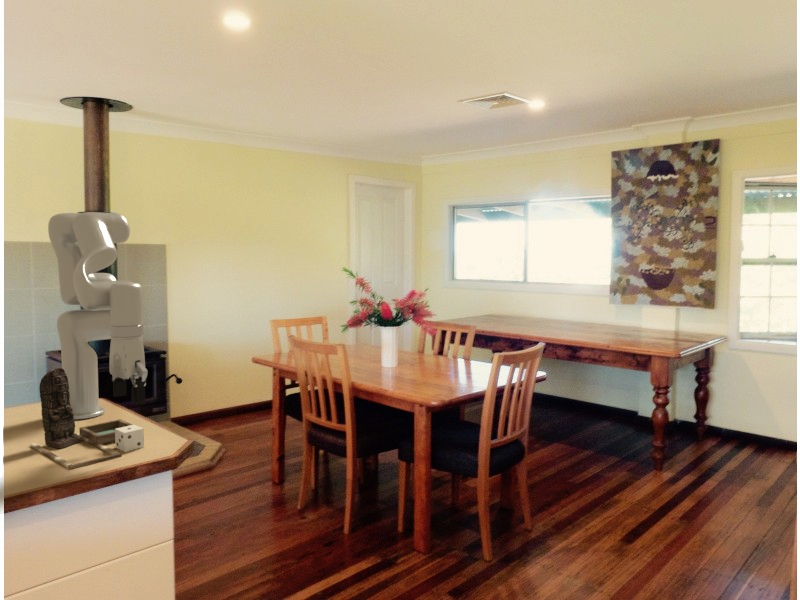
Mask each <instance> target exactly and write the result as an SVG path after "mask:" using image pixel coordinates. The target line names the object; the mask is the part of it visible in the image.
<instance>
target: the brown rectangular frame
mask: <svg viewBox="0 0 800 600" xmlns="http://www.w3.org/2000/svg"><path fill="white" fill-rule="evenodd" d="M76 434H77V435H79V436H81V435H80V432H78V433H76ZM81 437H82V440H81V441H84V442H86V443H88V444H90V445H92V446H94V447H96V448H98V449H100V450H102V451H104V452H107V453H108V454H110V455H106V456H101V457H98V458H95V459H91V460H86V461H83V462H78V463H74V464H73V463H72V462H69V461H67V460H66V459H64V458H62V457H60V456H59V455H57V454H56V453H53V452H51V451H50V450H49V449H47V448H45V447H43V446H41V445H39V444H38V443H36V442H31V443H29V444H30V447H32V448H33V449H35V450H37V451H38V452H40V453H41V454H44V455H45V456H47V457H49V458H50V459H52V460H54V461H55V462H57V463H59V464H60V465H62V466H64V467H65V468H67V469H69V470H73V469H77V468H81V467H85V466H91V465H93V464H97V463H101V462H105V461H109V460H112V459H116V458H120V457H122V456H123V455H122V453H121V452H119V451H116V450H114V449H113V448H110V447H108V446H107V445H102V444H97V443H95V442H93V441H91V440H89V439H87V438H85V437H83V436H81Z"/></svg>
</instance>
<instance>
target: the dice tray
mask: <svg viewBox="0 0 800 600" xmlns="http://www.w3.org/2000/svg"><path fill="white" fill-rule="evenodd" d="M130 425H134V424H133V423H131V422H128V421H125V420H123V419H115V420H110V421H105V422H100V423H97V424H96V423H95V424H91V425H87V426H81V427H79V433H80V435H81V436H83V437H85V438H87V439H89V440H91V441H93V442H95V443H97V444H102V445H104V446H107V445H110V444H115V429H116V428H121V427H125V426H130Z"/></svg>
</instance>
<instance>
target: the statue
mask: <svg viewBox="0 0 800 600" xmlns="http://www.w3.org/2000/svg"><path fill="white" fill-rule="evenodd" d="M68 390H69V384H68V378H67V375H66V373H65V371H64V369H63V368H62V367H55V368H52V369H51V370H49V371H47V373H45V374H44V375H43V376H42V377H41V379H40V382H39V398H40V404H41V406H40V407H41V418H42V420H41V421H42V427H43V431H44V442H45V445H46V446H48V447H51V448H55V449H62V448H68V447H69V446H72V445H74V444H77V443H80V442H82V441H83V440H82V437H81V436H79V435H77V433H75V430H76V422H75V420H74V417H73V416H74V412H73V409H72V408H73V407H72V406H71V405H70V399H69V398H70V393H69V391H68Z"/></svg>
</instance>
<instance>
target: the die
mask: <svg viewBox="0 0 800 600" xmlns="http://www.w3.org/2000/svg"><path fill="white" fill-rule="evenodd" d="M144 429H145V428H143V427H141V426H138V425H136V424H133V425H130V426H125V427H121V428H116V429H115V442H114V444H115V447H116V448H115V447H114V448H115V449H117V448H118V449H117V450H119V449H120V451H121V450H122V452H123V451H124V453H127V452H131V451H134V449H135V450H139V449H143V448H145V439H144V438H145V437H144V436H145V433H144ZM142 447H143V448H142ZM138 448H139V449H138ZM130 450H131V451H130Z"/></svg>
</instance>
